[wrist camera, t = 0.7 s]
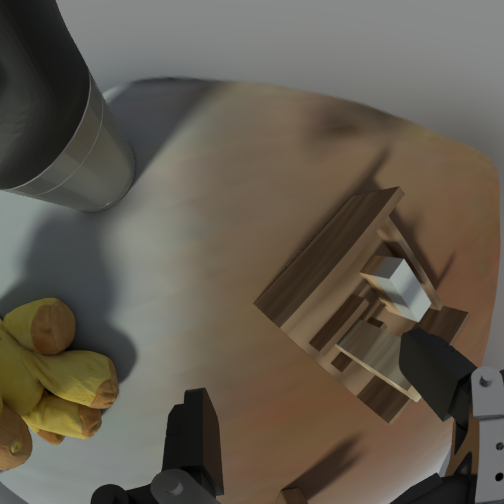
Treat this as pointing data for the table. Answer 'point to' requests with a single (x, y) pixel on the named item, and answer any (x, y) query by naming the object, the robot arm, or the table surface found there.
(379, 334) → the tan wooden bar
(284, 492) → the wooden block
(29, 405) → the yellow stuffed toy
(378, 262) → the oak offcut
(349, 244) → the brown wooden tray
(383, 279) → the grey offcut
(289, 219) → the table surface
